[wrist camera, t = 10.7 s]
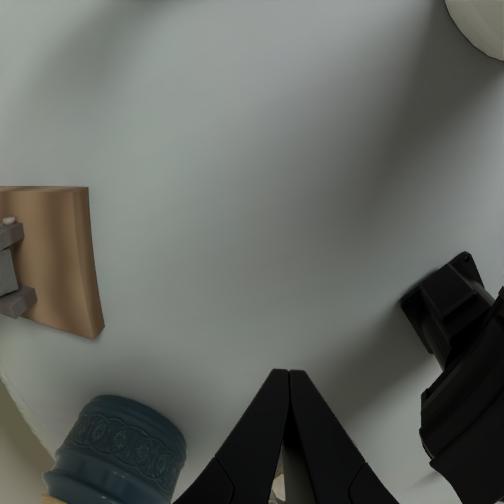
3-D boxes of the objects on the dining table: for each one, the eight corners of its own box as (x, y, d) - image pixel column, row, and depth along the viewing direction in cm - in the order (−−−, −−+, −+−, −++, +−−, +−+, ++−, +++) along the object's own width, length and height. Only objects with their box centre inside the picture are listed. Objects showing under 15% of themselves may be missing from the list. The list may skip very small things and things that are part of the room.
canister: (89, 432, 33) (36, 530, 16) (85, 374, 28) (0, 500, 12) (180, 470, 33) (145, 580, 17) (200, 423, 28) (153, 578, 12)
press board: (88, 187, 20) (20, 213, 14) (104, 326, 25) (61, 378, 18) (-26, 187, 22) (-78, 207, 15) (-6, 293, 26) (-47, 325, 19)
